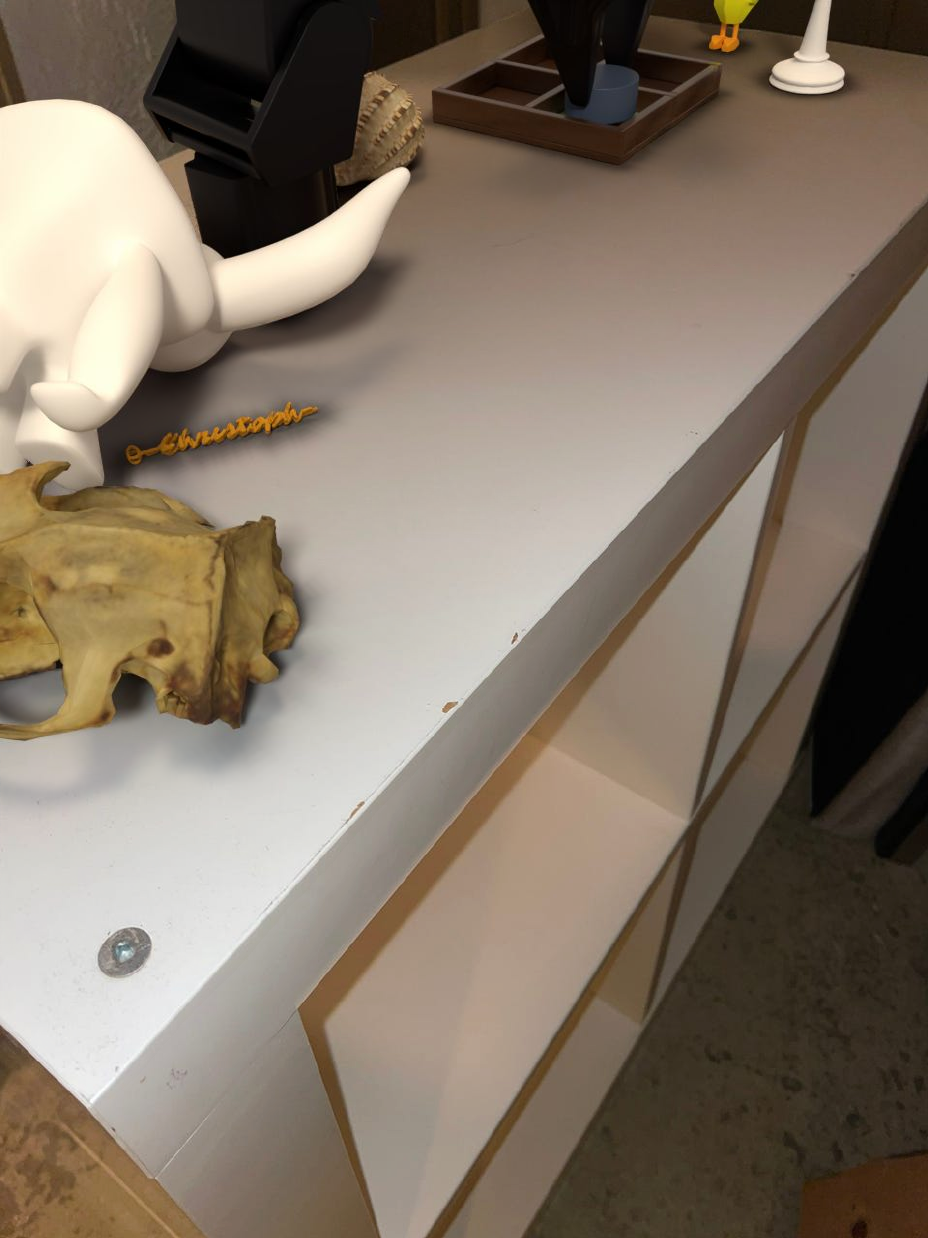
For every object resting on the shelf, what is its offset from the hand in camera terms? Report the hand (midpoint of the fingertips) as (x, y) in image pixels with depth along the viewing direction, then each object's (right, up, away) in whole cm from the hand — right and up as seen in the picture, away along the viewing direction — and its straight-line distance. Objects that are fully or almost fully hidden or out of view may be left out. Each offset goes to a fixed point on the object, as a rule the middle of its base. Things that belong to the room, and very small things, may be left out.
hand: (598, 93), depth 58 cm
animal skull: (-18, -34, -25) cm, 46 cm away
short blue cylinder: (0, -1, +1) cm, 1 cm away
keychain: (-18, -25, -19) cm, 36 cm away
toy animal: (-25, -27, -24) cm, 44 cm away
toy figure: (+11, +10, +13) cm, 19 cm away
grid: (-1, +2, +5) cm, 5 cm away
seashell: (-15, -6, -2) cm, 17 cm away
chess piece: (+15, +4, +7) cm, 17 cm away
